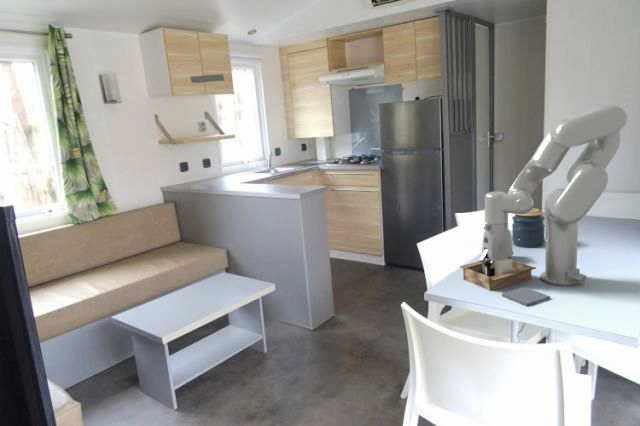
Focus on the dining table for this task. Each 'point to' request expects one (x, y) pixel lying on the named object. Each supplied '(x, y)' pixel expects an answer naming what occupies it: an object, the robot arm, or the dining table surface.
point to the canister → (528, 229)
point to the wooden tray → (496, 275)
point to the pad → (525, 296)
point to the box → (499, 266)
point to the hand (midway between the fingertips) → (496, 275)
